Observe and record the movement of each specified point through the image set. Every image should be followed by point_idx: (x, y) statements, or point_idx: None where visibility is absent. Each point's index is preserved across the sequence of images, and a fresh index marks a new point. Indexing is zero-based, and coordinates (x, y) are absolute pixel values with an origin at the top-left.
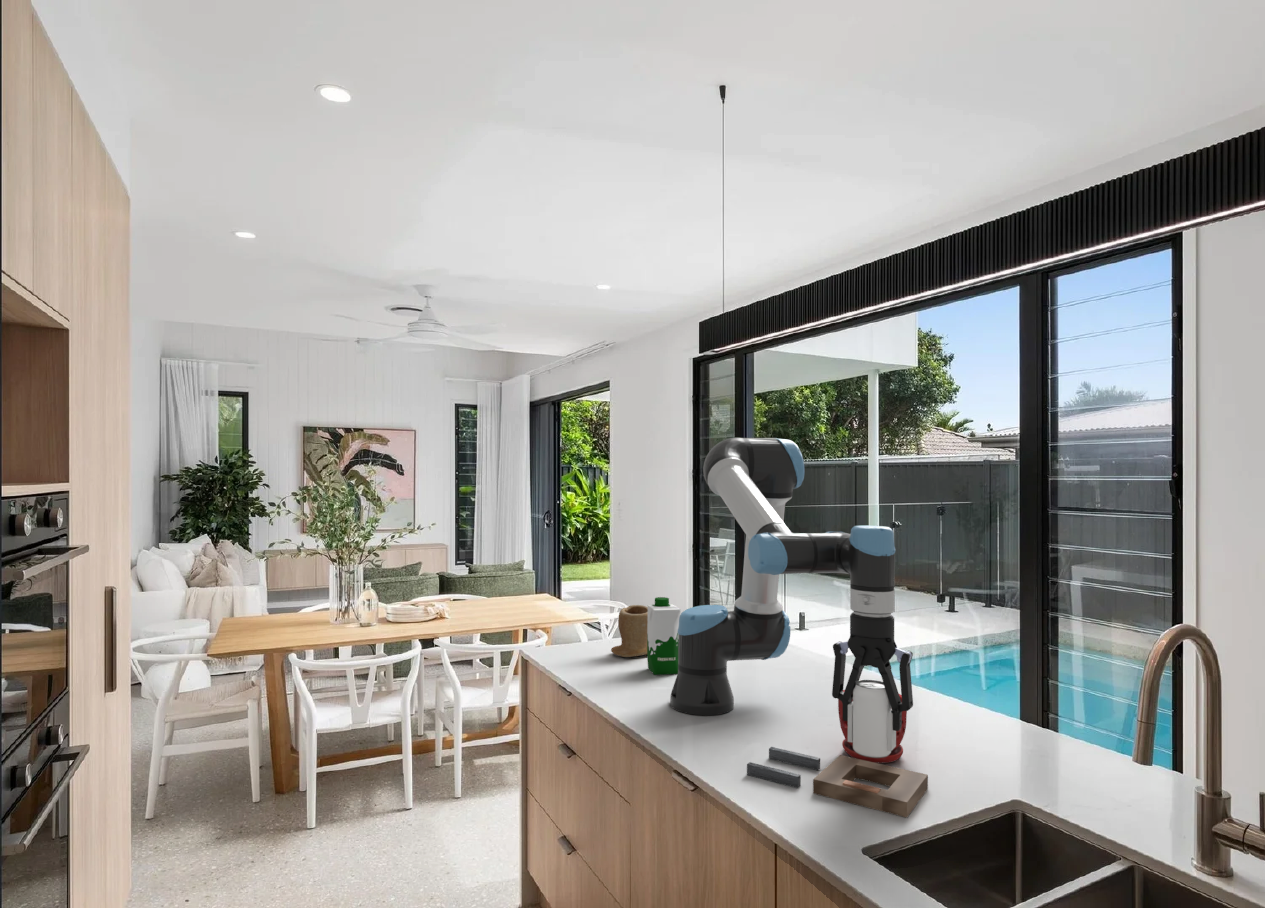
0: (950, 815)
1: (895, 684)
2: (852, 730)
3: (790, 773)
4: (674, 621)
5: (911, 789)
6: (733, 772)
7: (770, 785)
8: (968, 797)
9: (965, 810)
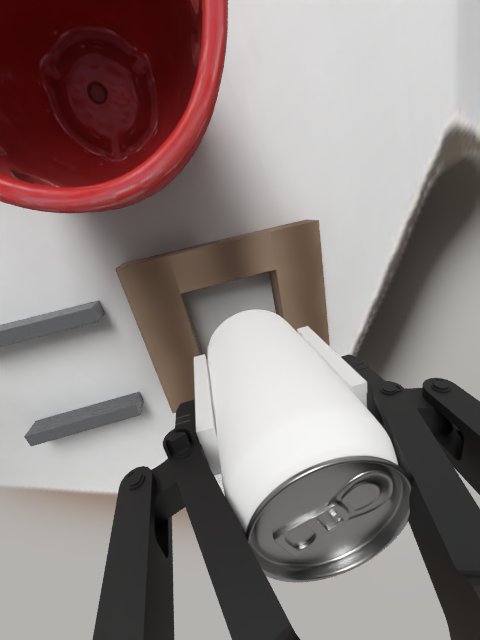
0: (367, 297)
1: (454, 472)
2: None
3: (119, 414)
4: None
5: (319, 317)
6: (16, 440)
7: (105, 426)
8: (376, 197)
9: (382, 260)
